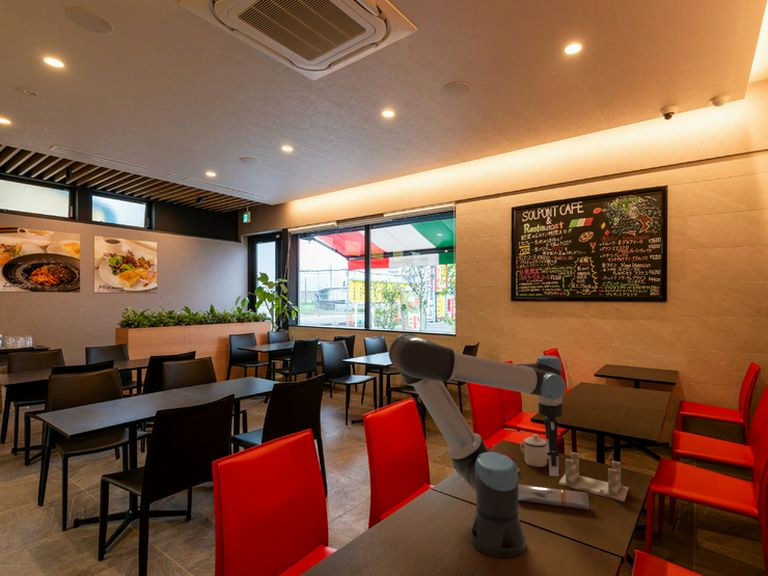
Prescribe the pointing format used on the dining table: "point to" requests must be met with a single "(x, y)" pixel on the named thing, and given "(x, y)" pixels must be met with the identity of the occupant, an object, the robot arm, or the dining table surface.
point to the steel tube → (553, 496)
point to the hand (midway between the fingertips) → (552, 466)
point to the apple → (512, 459)
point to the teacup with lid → (534, 451)
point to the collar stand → (594, 480)
